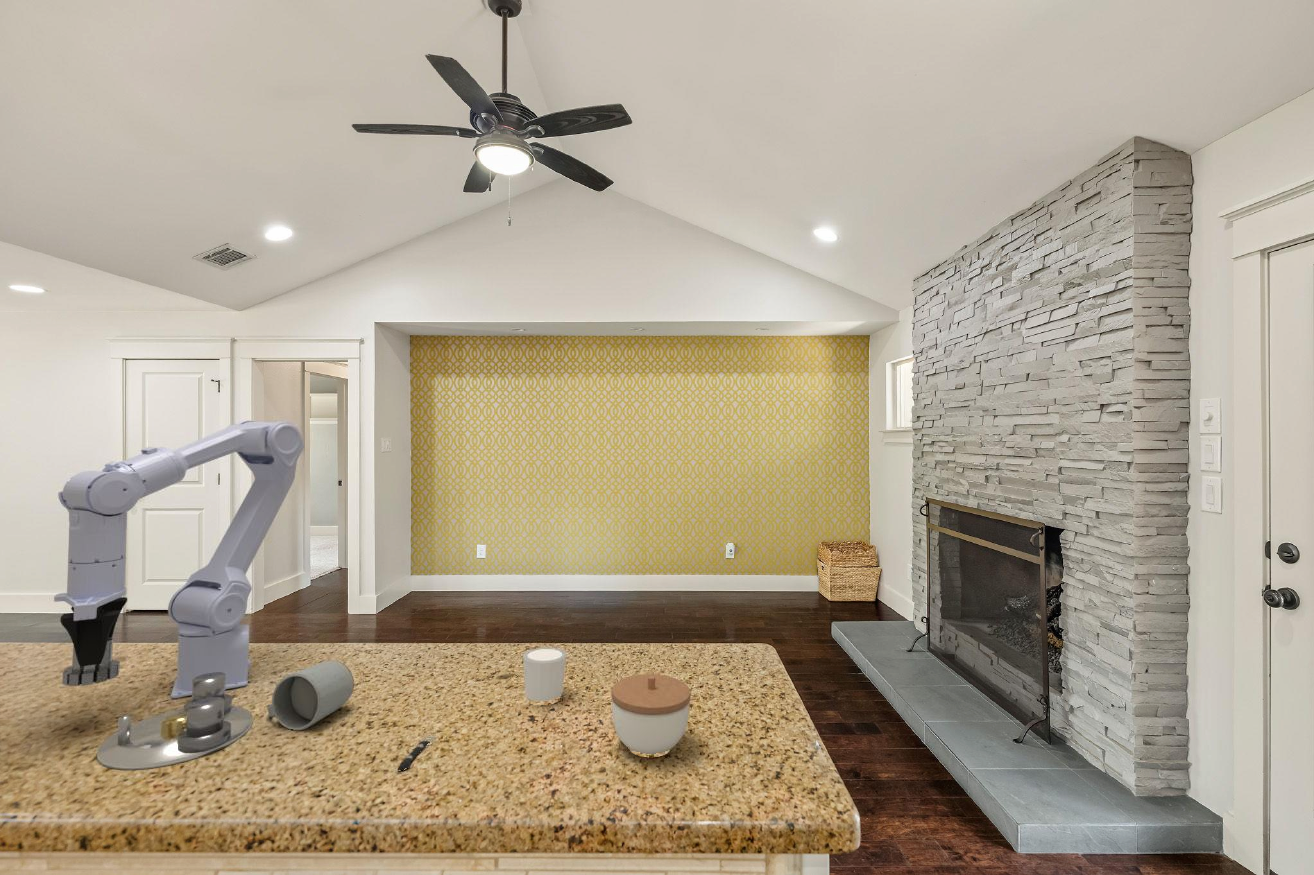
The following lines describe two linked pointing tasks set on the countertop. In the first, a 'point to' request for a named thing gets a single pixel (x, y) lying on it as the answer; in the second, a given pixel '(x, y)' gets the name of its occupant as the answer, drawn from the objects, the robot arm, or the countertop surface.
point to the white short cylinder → (544, 673)
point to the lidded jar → (650, 712)
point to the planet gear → (92, 669)
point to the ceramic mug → (311, 694)
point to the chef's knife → (415, 752)
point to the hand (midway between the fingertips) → (94, 659)
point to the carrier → (178, 730)
